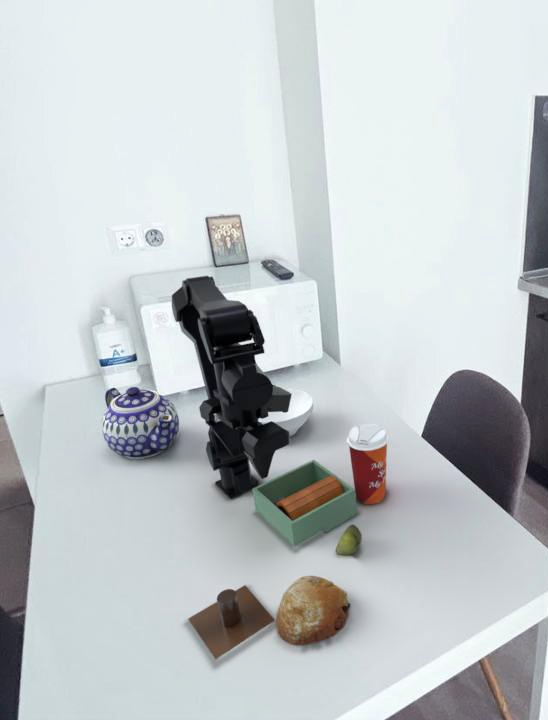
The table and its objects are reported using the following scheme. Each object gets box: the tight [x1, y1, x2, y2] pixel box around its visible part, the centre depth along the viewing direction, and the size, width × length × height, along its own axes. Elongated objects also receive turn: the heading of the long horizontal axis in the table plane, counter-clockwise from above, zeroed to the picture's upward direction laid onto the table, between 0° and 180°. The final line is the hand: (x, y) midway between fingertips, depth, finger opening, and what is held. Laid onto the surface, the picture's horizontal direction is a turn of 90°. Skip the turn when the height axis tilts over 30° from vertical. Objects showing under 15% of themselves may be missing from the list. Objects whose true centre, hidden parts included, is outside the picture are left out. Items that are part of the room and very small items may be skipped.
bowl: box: [258, 388, 314, 438], centre depth 125 cm, size 16×16×7 cm
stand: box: [187, 584, 276, 661], centre depth 77 cm, size 9×9×6 cm
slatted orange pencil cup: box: [275, 476, 344, 521], centre depth 98 cm, size 5×5×11 cm
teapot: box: [101, 386, 180, 460], centre depth 118 cm, size 25×15×15 cm, turn 53°
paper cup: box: [346, 423, 390, 505], centre depth 102 cm, size 8×8×14 cm
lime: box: [335, 523, 363, 556], centre depth 90 cm, size 4×5×5 cm
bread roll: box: [275, 575, 351, 646], centre depth 78 cm, size 10×10×8 cm
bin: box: [251, 459, 358, 547], centre depth 99 cm, size 13×13×6 cm
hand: (249, 466), depth 92 cm, fingers open, 9 cm apart
